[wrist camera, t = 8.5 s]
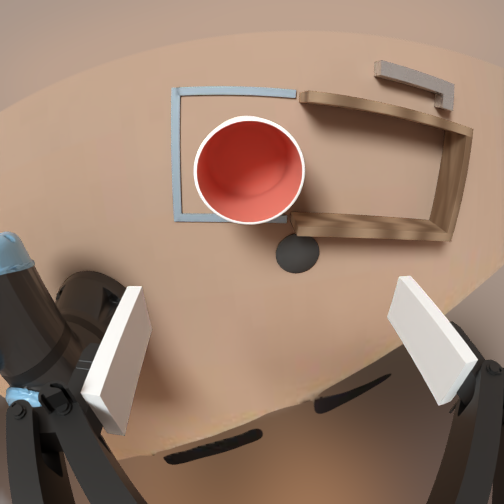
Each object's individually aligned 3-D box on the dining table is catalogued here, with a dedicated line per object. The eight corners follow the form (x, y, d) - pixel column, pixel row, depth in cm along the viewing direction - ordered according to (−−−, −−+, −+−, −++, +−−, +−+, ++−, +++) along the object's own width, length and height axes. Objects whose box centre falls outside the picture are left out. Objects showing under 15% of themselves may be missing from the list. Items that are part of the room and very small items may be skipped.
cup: (214, 108, 32) (205, 107, 23) (296, 126, 33) (318, 133, 24) (198, 187, 36) (185, 214, 27) (276, 202, 38) (289, 234, 29)
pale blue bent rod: (174, 220, 38) (174, 221, 38) (172, 88, 30) (171, 87, 30) (286, 222, 39) (286, 223, 39) (295, 90, 31) (296, 90, 31)
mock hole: (274, 272, 42) (274, 272, 42) (277, 232, 40) (278, 233, 39) (315, 272, 43) (315, 273, 42) (321, 234, 40) (321, 234, 40)
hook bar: (373, 90, 31) (380, 89, 29) (374, 62, 29) (381, 60, 28) (444, 110, 32) (452, 111, 30) (446, 84, 30) (454, 84, 28)
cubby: (290, 220, 39) (297, 236, 34) (299, 92, 31) (309, 90, 27) (433, 227, 40) (450, 241, 36) (451, 124, 33) (473, 129, 28)
